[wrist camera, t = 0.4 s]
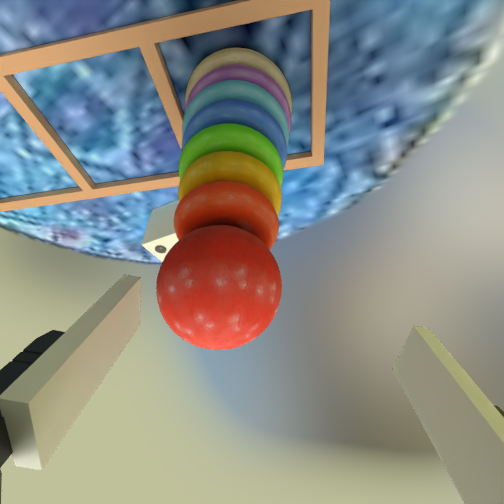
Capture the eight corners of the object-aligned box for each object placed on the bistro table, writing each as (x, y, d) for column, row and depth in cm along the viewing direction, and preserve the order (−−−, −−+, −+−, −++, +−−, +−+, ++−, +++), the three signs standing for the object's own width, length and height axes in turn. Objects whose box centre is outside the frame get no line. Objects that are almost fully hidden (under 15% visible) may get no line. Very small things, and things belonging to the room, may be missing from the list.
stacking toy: (251, 12, 17) (257, 249, 6) (308, 117, 22) (372, 352, 11) (164, 91, 21) (60, 335, 9) (231, 166, 26) (218, 382, 14)
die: (152, 209, 30) (141, 245, 27) (190, 194, 29) (183, 231, 25) (179, 236, 34) (172, 271, 31) (215, 224, 32) (212, 260, 29)
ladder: (-146, 87, 20) (-156, 92, 20) (328, -21, 16) (331, -18, 16) (-2, 207, 30) (-6, 212, 29) (322, 159, 25) (323, 164, 25)
